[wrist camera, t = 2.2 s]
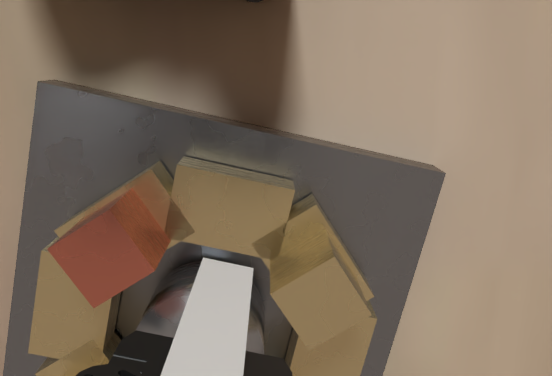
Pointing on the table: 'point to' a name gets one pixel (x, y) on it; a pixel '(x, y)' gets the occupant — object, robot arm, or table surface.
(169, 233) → the octagonal wooden frame
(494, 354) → the table surface
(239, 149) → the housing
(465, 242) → the table surface
